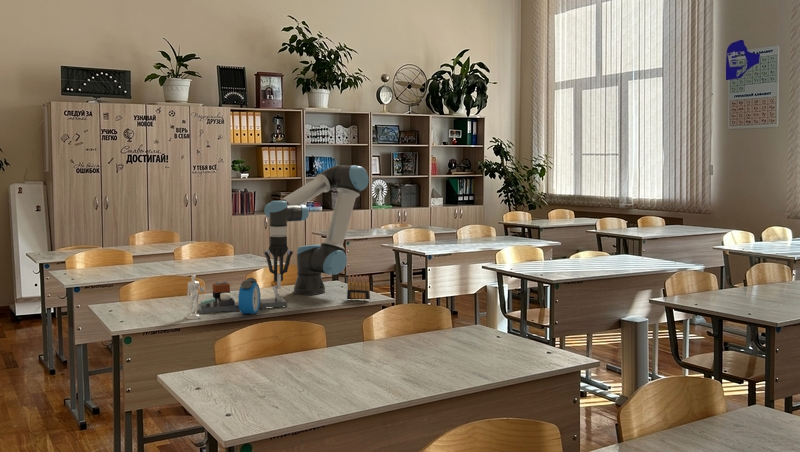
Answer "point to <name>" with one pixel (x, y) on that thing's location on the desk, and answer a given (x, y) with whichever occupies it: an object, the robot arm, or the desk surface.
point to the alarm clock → (249, 296)
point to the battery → (220, 289)
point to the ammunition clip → (356, 292)
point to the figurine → (194, 293)
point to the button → (225, 296)
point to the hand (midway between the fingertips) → (278, 288)
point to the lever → (274, 288)
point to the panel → (234, 305)
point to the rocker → (207, 301)
